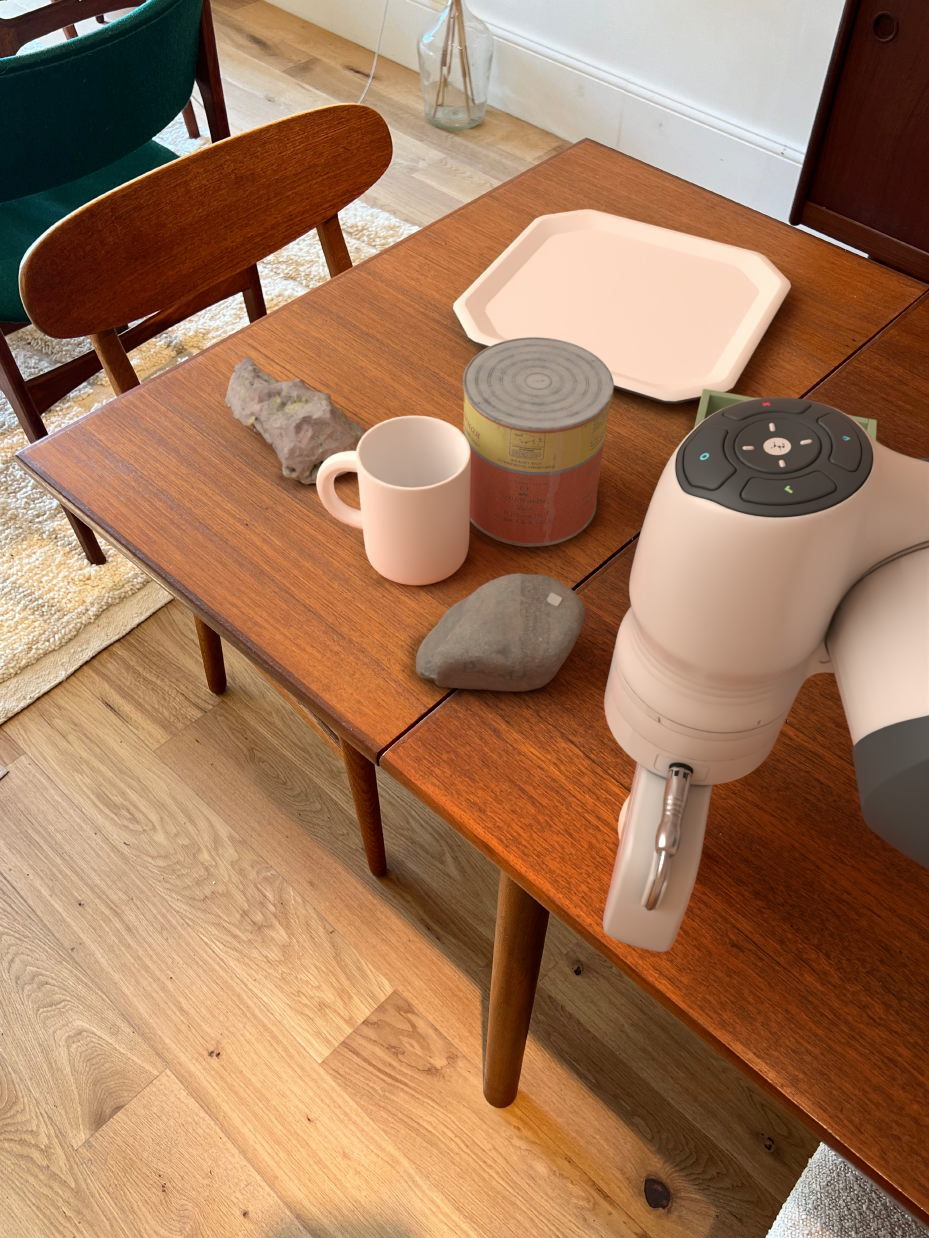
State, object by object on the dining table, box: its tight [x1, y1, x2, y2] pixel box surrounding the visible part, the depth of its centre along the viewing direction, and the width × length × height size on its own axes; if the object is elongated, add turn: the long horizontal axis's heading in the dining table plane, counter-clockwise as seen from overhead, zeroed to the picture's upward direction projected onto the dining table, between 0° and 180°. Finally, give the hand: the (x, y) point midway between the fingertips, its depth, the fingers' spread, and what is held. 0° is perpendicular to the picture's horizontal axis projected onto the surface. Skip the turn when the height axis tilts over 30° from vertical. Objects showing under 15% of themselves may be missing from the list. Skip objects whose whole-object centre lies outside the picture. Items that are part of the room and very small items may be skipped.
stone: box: [415, 572, 586, 692], centre depth 70 cm, size 9×9×10 cm
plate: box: [452, 208, 792, 405], centre depth 101 cm, size 29×29×2 cm
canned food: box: [462, 337, 615, 548], centre depth 79 cm, size 11×11×12 cm
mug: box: [315, 415, 471, 586], centre depth 76 cm, size 12×8×10 cm
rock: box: [224, 355, 367, 485], centre depth 85 cm, size 16×7×7 cm, turn 49°
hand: (651, 827), depth 60 cm, fingers open, 8 cm apart
